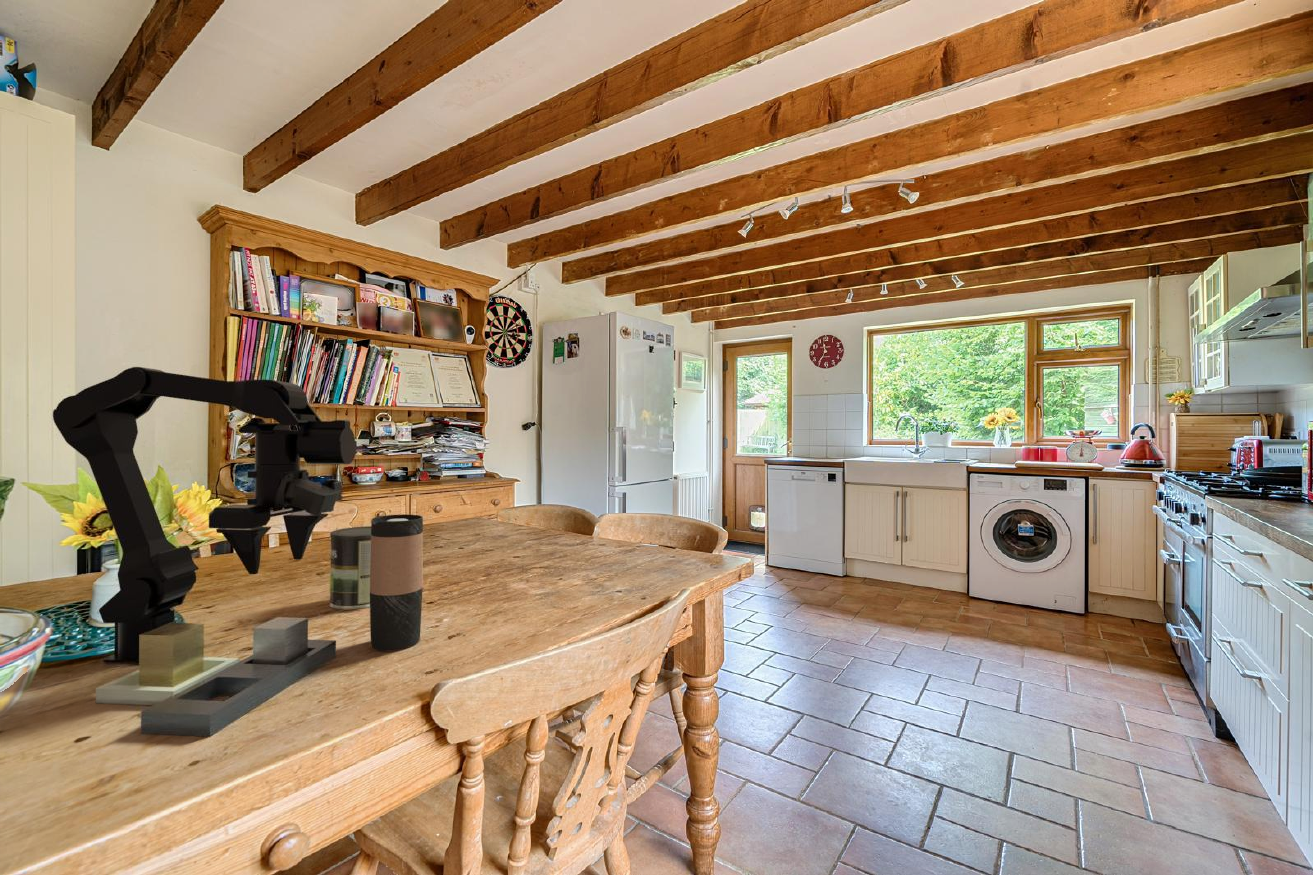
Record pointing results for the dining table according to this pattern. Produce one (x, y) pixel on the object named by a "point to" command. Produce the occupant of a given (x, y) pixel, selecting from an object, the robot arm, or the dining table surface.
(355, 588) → the coffee can
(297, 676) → the rail
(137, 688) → the tray
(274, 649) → the grey square block
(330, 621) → the dining table surface
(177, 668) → the beige wooden block
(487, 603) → the dining table surface
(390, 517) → the travel mug
